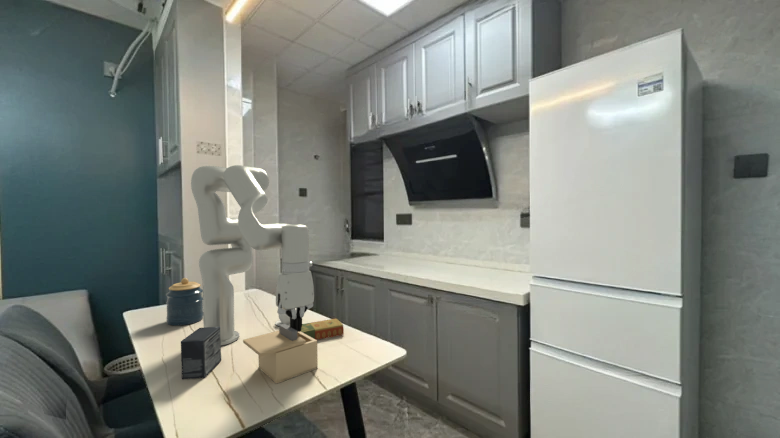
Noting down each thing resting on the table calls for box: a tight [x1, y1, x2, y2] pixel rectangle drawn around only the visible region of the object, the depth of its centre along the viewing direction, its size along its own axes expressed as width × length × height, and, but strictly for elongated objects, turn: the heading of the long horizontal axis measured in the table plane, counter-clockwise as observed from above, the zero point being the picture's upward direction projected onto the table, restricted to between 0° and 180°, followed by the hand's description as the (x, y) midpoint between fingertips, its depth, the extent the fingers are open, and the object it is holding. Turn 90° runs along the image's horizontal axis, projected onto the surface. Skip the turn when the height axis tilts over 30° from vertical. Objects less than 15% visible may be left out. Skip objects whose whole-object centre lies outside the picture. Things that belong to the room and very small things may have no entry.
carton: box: [301, 318, 345, 341], centre depth 119 cm, size 8×16×4 cm, turn 117°
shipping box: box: [257, 331, 319, 384], centre depth 94 cm, size 12×12×8 cm
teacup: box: [274, 313, 290, 327], centre depth 132 cm, size 10×10×5 cm
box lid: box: [242, 324, 306, 357], centre depth 91 cm, size 12×12×3 cm
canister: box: [165, 277, 203, 326], centre depth 135 cm, size 13×13×18 cm
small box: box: [180, 327, 222, 380], centre depth 93 cm, size 11×6×10 cm, turn 5°
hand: (296, 330), depth 95 cm, fingers closed
